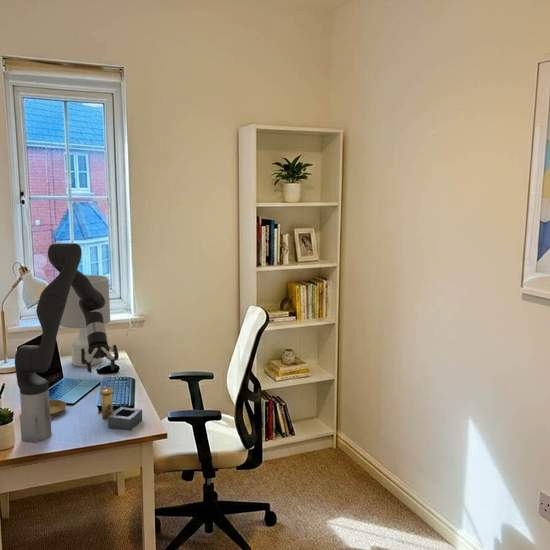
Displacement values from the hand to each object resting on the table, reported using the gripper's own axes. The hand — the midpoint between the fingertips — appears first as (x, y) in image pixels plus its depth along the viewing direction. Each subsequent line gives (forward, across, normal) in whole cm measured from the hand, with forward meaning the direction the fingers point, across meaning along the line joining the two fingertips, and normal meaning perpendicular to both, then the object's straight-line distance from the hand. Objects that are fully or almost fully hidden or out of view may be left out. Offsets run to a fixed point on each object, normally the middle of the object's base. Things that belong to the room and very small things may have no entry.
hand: (101, 370), depth 213 cm
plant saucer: (+9, -21, +13) cm, 26 cm away
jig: (+25, +5, -3) cm, 26 cm away
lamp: (-32, 0, +53) cm, 62 cm away
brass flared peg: (+18, 0, +3) cm, 18 cm away
